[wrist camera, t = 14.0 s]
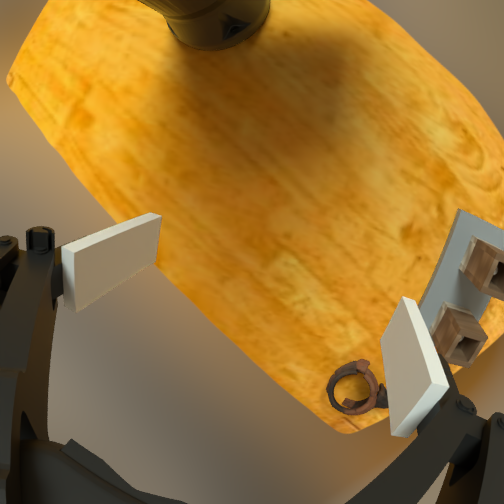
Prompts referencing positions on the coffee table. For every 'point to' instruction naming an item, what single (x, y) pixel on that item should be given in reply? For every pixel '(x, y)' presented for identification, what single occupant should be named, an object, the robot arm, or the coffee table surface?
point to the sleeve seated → (484, 267)
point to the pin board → (458, 270)
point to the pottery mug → (363, 405)
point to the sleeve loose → (457, 334)
